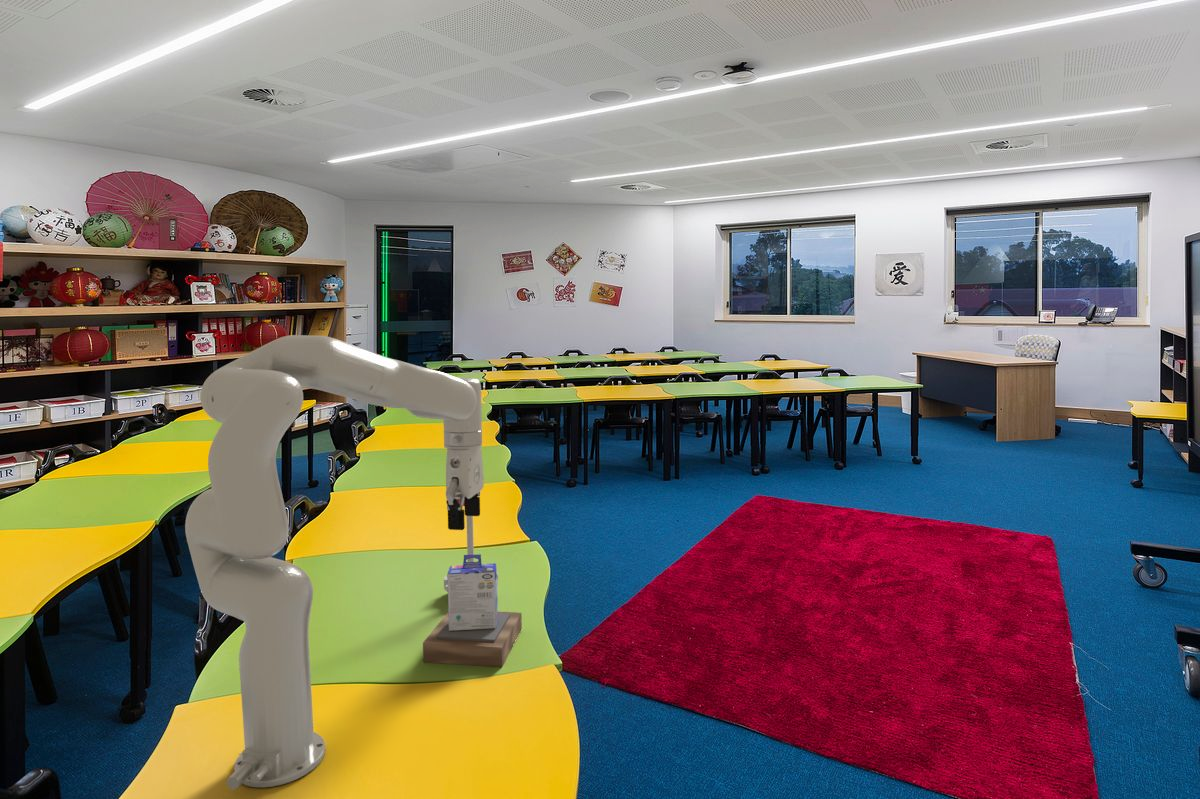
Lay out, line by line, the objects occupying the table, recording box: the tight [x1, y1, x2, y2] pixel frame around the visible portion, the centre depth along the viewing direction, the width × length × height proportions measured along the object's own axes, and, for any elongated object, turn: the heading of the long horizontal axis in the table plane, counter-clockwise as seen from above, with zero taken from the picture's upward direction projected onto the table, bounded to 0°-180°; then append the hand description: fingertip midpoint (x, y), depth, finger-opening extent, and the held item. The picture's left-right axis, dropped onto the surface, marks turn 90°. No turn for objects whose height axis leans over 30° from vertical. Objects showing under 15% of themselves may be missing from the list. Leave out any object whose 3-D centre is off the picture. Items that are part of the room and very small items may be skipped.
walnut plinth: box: [422, 610, 523, 668], centre depth 141 cm, size 16×16×4 cm
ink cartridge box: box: [446, 553, 498, 631], centre depth 140 cm, size 10×6×14 cm, turn 97°
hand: (464, 522), depth 138 cm, fingers open, 9 cm apart
